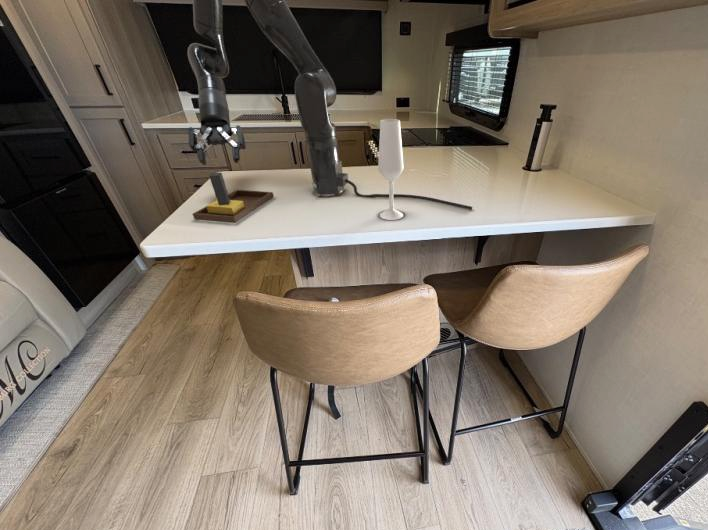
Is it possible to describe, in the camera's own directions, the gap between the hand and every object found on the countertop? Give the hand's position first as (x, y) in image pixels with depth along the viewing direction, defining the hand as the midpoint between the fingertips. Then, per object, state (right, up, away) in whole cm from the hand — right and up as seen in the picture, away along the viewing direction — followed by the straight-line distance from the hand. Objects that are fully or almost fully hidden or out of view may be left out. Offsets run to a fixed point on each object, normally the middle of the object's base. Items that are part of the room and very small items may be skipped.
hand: (219, 162), depth 93 cm
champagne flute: (+49, -15, +1) cm, 51 cm away
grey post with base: (+2, -14, +1) cm, 14 cm away
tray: (+3, -12, +5) cm, 13 cm away
